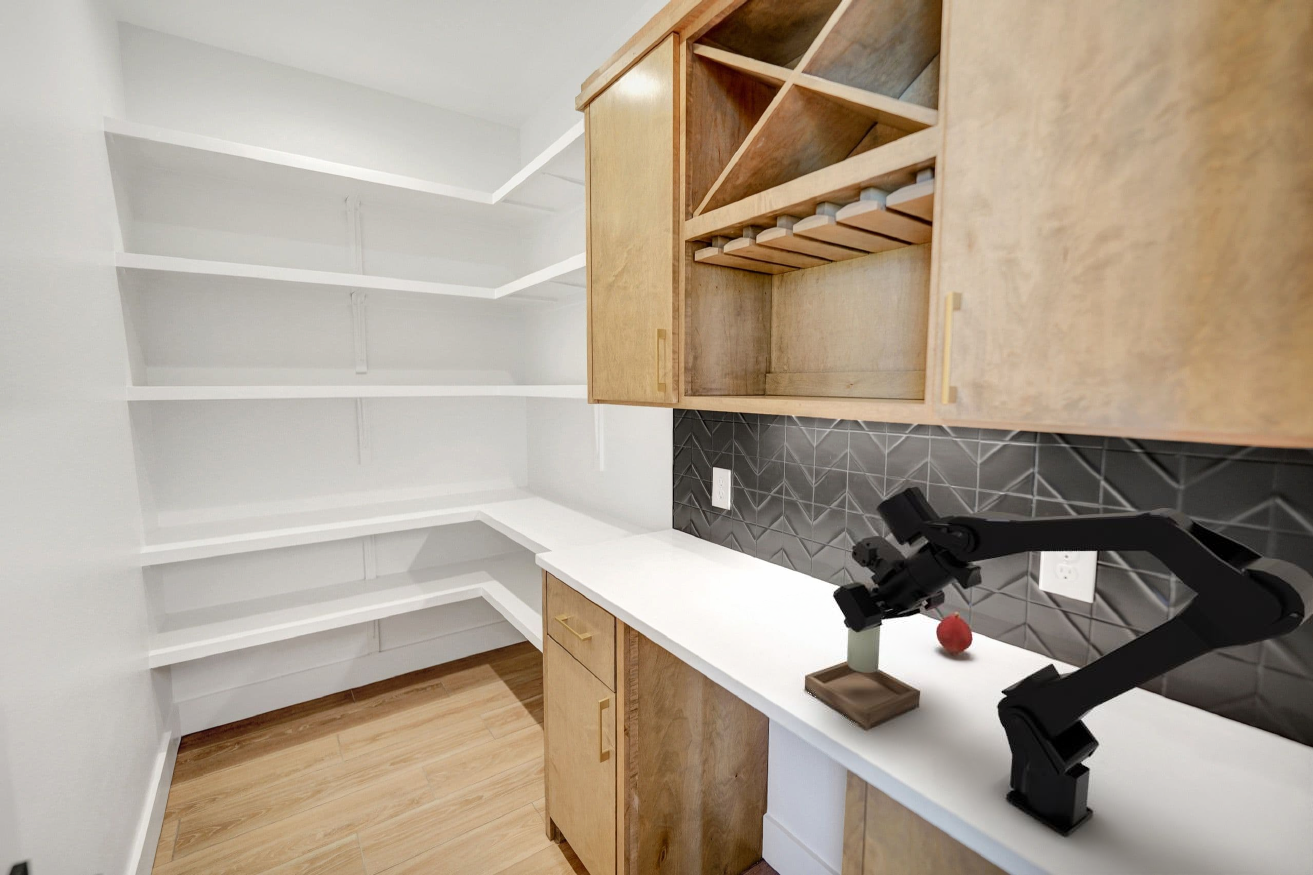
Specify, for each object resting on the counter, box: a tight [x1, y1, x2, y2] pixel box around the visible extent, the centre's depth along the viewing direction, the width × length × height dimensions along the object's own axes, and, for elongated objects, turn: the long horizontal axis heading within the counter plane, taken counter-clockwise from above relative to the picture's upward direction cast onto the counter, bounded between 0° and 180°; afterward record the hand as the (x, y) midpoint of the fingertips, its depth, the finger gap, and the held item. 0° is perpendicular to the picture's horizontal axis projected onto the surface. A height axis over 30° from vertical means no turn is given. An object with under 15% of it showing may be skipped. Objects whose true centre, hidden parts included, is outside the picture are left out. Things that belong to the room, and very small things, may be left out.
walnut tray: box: [804, 660, 921, 731], centre depth 88 cm, size 12×12×2 cm
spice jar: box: [846, 581, 881, 673], centre depth 87 cm, size 5×5×12 cm
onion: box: [935, 612, 974, 656], centre depth 102 cm, size 6×6×8 cm
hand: (856, 621), depth 88 cm, fingers closed on spice jar, 5 cm apart
